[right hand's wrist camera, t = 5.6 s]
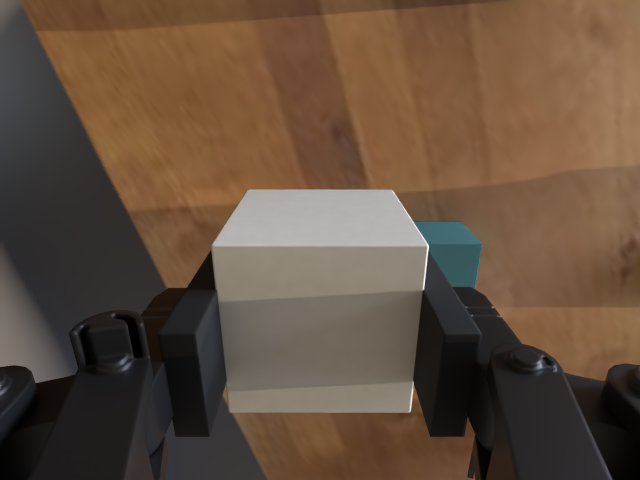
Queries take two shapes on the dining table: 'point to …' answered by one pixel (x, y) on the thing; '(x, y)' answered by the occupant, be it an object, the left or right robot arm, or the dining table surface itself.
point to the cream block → (319, 301)
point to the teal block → (453, 251)
